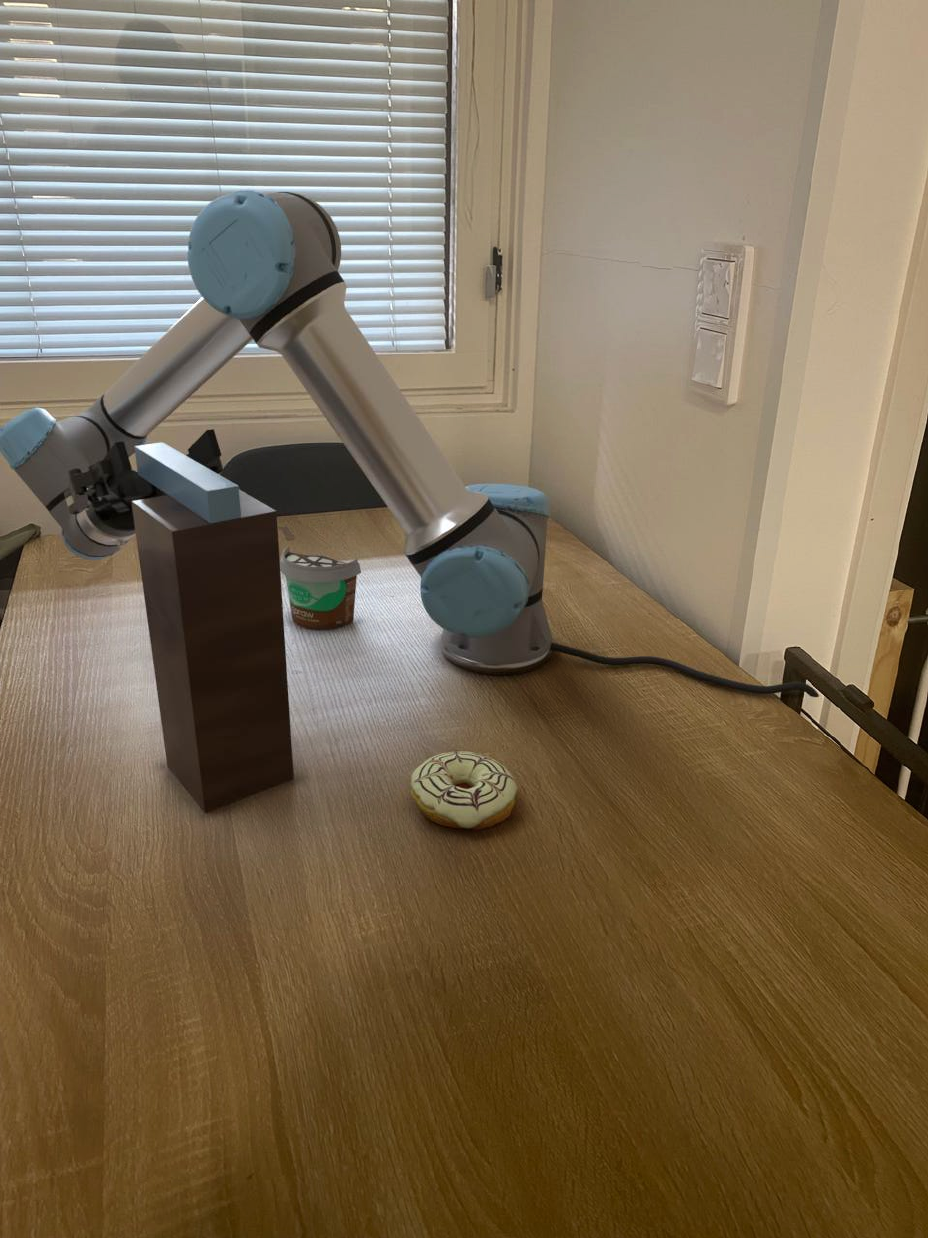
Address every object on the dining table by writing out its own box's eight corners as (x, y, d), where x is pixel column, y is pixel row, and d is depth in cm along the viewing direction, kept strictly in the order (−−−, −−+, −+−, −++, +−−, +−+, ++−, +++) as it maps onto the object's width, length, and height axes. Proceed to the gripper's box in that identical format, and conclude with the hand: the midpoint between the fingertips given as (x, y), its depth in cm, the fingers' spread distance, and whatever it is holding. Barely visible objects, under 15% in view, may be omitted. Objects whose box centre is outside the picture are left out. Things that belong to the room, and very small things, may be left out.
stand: (167, 766, 98) (131, 500, 86) (252, 737, 104) (230, 484, 91) (204, 813, 91) (171, 531, 78) (294, 779, 97) (276, 510, 84)
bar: (137, 474, 93) (133, 445, 92) (166, 470, 95) (162, 441, 94) (210, 523, 80) (206, 491, 79) (241, 517, 82) (239, 485, 81)
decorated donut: (477, 852, 87) (478, 820, 85) (390, 810, 93) (390, 779, 91) (533, 798, 95) (535, 769, 93) (450, 763, 100) (451, 734, 99)
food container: (266, 624, 131) (261, 559, 126) (289, 607, 136) (285, 545, 131) (341, 640, 127) (339, 574, 122) (362, 623, 132) (360, 559, 127)
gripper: (211, 520, 113) (279, 469, 94) (31, 555, 101) (68, 504, 82) (194, 462, 113) (259, 399, 94) (11, 490, 101) (44, 425, 82)
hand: (170, 448), depth 88 cm, fingers open, 8 cm apart
